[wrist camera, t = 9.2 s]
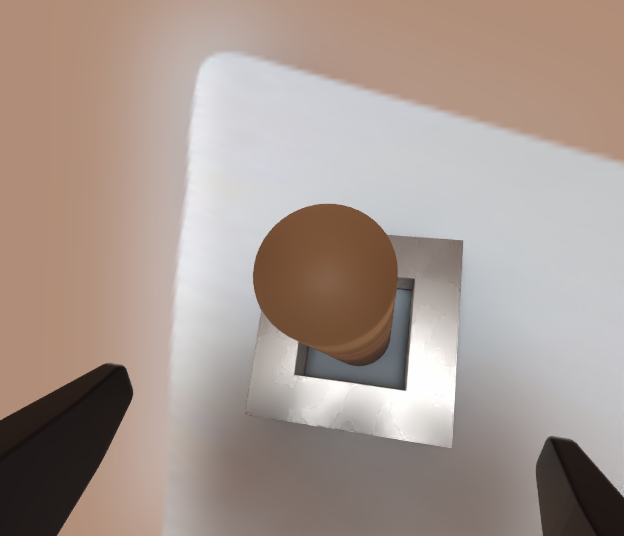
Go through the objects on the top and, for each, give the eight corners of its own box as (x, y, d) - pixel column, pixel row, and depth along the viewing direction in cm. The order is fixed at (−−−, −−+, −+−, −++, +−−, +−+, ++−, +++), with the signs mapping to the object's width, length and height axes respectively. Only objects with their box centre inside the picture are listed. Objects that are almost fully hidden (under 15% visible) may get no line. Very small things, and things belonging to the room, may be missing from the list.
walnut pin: (387, 370, 21) (390, 354, 9) (323, 361, 22) (242, 336, 9) (392, 306, 22) (403, 208, 9) (331, 299, 22) (265, 200, 10)
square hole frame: (443, 440, 20) (452, 448, 17) (260, 410, 22) (244, 414, 19) (454, 255, 22) (462, 240, 19) (286, 242, 24) (275, 226, 21)
